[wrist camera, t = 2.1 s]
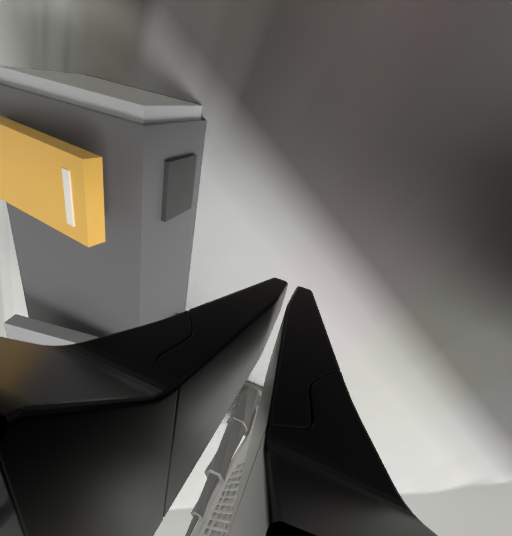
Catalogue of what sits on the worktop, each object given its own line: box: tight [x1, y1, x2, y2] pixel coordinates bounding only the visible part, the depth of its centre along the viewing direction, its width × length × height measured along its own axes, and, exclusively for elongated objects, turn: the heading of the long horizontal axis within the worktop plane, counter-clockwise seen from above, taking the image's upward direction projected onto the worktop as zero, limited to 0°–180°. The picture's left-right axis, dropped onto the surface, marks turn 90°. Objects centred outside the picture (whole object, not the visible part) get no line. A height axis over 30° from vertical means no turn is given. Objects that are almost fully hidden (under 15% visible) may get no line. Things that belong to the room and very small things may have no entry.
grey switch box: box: [0, 66, 206, 337], centre depth 24 cm, size 10×22×6 cm, turn 167°
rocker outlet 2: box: [4, 314, 99, 346], centre depth 23 cm, size 8×4×1 cm, turn 78°
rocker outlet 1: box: [0, 116, 105, 247], centre depth 17 cm, size 8×4×1 cm, turn 77°
